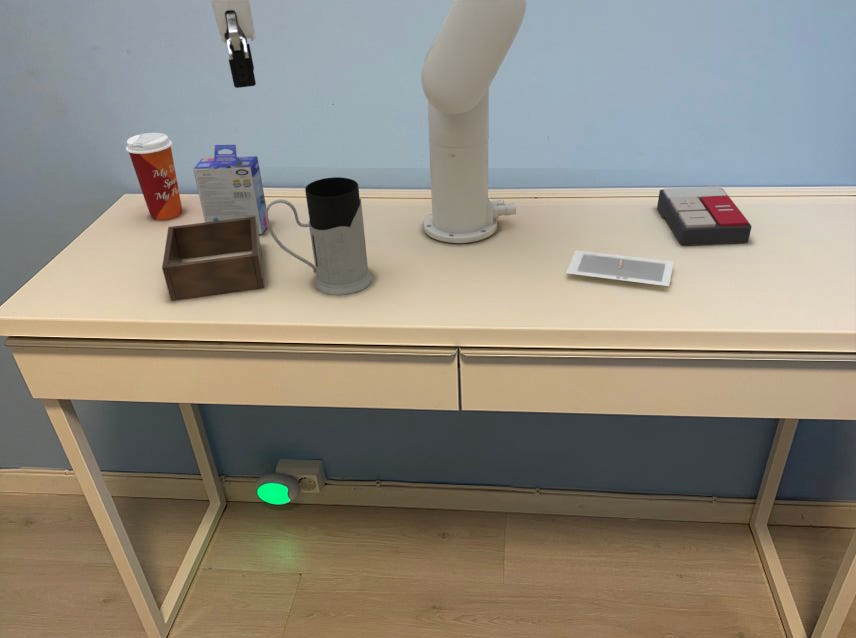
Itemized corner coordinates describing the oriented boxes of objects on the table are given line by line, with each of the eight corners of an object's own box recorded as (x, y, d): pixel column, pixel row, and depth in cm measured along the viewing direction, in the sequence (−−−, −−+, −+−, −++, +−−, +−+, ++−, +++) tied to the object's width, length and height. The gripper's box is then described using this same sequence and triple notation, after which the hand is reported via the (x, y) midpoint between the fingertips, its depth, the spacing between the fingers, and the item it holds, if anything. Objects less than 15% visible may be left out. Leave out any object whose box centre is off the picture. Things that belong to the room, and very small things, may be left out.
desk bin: (260, 246, 125) (255, 216, 122) (264, 288, 113) (257, 255, 110) (176, 257, 123) (168, 226, 119) (171, 300, 111) (161, 267, 108)
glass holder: (374, 291, 111) (364, 196, 103) (277, 301, 110) (259, 205, 101) (370, 264, 119) (360, 173, 110) (279, 273, 117) (262, 181, 108)
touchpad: (575, 256, 119) (576, 244, 118) (672, 268, 115) (674, 255, 113) (565, 279, 113) (566, 266, 111) (668, 292, 109) (670, 279, 107)
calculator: (685, 225, 118) (659, 185, 130) (680, 249, 121) (656, 207, 133) (753, 222, 119) (722, 182, 131) (748, 246, 121) (717, 205, 133)
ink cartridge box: (270, 222, 133) (256, 141, 125) (264, 235, 129) (249, 152, 120) (215, 223, 133) (197, 143, 125) (207, 237, 129) (188, 154, 121)
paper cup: (175, 223, 134) (155, 146, 126) (136, 221, 135) (114, 144, 127) (196, 206, 140) (178, 132, 132) (158, 204, 141) (139, 130, 133)
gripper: (247, -42, 100) (271, 89, 110) (245, -54, 114) (266, 63, 124) (189, -37, 99) (219, 95, 109) (194, -50, 113) (220, 69, 123)
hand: (244, 78), depth 116 cm, fingers open, 9 cm apart
